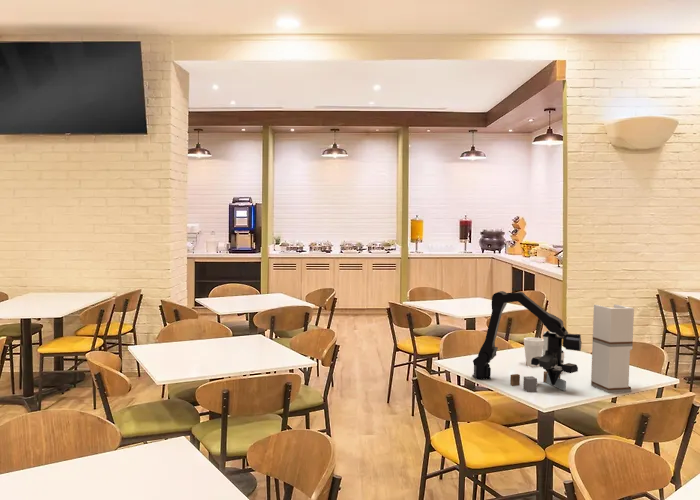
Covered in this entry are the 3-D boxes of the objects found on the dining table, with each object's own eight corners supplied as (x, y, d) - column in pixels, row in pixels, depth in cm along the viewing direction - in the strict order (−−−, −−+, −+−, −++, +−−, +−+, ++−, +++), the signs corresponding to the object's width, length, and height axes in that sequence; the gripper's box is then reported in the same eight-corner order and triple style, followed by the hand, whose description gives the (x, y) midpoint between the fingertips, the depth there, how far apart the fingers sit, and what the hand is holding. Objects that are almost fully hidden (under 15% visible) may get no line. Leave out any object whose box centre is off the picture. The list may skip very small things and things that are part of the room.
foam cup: (522, 366, 279) (522, 340, 278) (523, 362, 287) (524, 336, 287) (542, 368, 275) (543, 341, 274) (543, 364, 284) (544, 338, 283)
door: (546, 382, 250) (546, 373, 250) (551, 382, 250) (551, 373, 250) (563, 390, 238) (563, 381, 237) (568, 390, 238) (568, 381, 238)
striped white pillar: (630, 392, 238) (634, 308, 237) (608, 393, 236) (611, 308, 234) (612, 384, 249) (615, 304, 248) (591, 385, 247) (593, 304, 246)
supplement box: (561, 358, 298) (562, 334, 297) (546, 358, 298) (547, 333, 297) (556, 355, 305) (557, 331, 305) (542, 354, 305) (543, 331, 305)
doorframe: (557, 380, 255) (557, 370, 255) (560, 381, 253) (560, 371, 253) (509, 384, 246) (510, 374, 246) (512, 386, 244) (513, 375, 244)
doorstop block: (527, 392, 235) (527, 379, 235) (523, 389, 239) (523, 376, 239) (536, 392, 236) (537, 378, 236) (532, 389, 240) (532, 376, 240)
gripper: (524, 346, 243) (522, 382, 244) (564, 354, 228) (563, 393, 229) (539, 343, 250) (537, 378, 251) (579, 351, 235) (577, 388, 236)
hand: (553, 384), depth 241 cm, fingers closed
